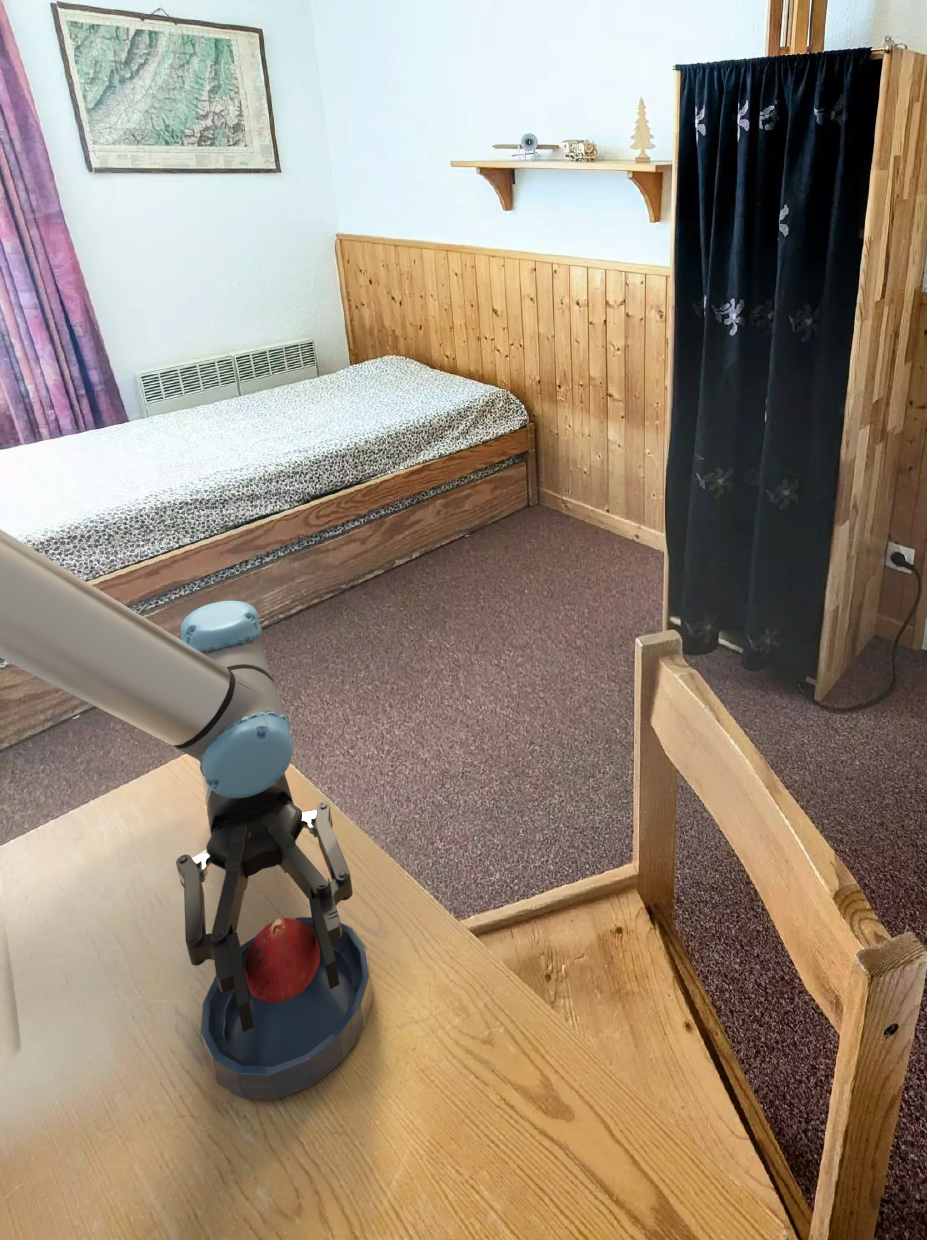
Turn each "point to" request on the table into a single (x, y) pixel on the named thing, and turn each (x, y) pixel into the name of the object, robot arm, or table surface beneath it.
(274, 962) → the red oval fruit
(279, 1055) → the bowl
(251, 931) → the table surface
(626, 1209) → the table surface
